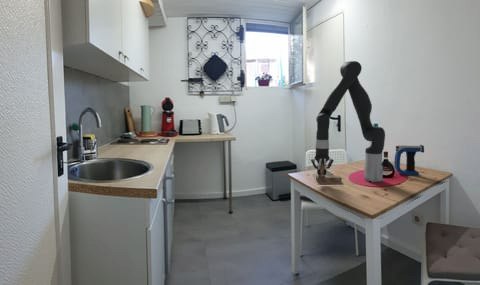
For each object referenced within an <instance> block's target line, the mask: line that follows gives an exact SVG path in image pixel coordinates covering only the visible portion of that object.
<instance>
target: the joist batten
mask: <svg viewBox="0 0 480 285" xmlns="http://www.w3.org/2000/svg"><path fill="white" fill-rule="evenodd" d="M342 180H343V178H342V176H341V175H337V174H336V175H334V174H333V175H325V176H324V175H323V177H320V176H319V175H316V180H315V182H317V183H320V184H321V183H322V184H324V183H327V184H328V183H331V184H332V183H335V184H338V183H339V184H340V183H342Z"/></svg>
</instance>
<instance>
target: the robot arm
mask: <svg viewBox="0 0 480 285" xmlns="http://www.w3.org/2000/svg"><path fill="white" fill-rule="evenodd" d="M339 71H340V75H341V77H342V78H341V79H340V82H339V83H338V84H337V85H336V87H335V88H334V89H333V90H332V91H331V93H330V94H329V95H328V97H327V98H326V101H325V102H324V104H323V107H322V108H321V109H320V111H319V113H318V114H317V116H316V123H317V124H316V128H317V130H316V133H315V134H316V137H315V138H316V139H315V156H314V158H311V159H310V161H311V163H312V165H313V167H314V169H317V170H316V174H318V175H319V176H320V166H321V164H324V174H323V175H324V176H325V175H326V171H328V169H330V168H331V166H332V164H333V163H334V159H333V158H331V157H330V156H329V154H330V140H329V139H330V137H329V134H330V133H329V130H330V121H331V120H330V118H331V116H332V115H333V113H334V112H335V111H336V109H337V108H338V106H339V104H340V103H341V101H342V99H343V98H344V96H345V94H346V93H347V91H348V94H349V97H350V99H351V102H352V105H353V107H354V111H355V113H356V115H357V118H358V121H359V124H360V129H361V132H362V133H361V134H362V136H363V139H364V140H366V141H367V142H371V144H370V146H368V147H366V148H365V154H364V175H363V176H364V178H363V180H364V179H365V180H364V181H366V182H369V181H371V183H380V182H383V174H384V165H383V151H384V147H385V140H386V132H385V129H384V128H383V127H381V126H373V124H372V120H371V114H372V109H373V108H372V106H373V105H372V102H371V99H370V96H369V94H368V92H367V91H366V90H365V87H364V86H363V85H362V84H361V82H360V80H359V78H358V77H359V76H360V74H361V72H362V64H361V63H360V62H359V61H355V60H353V61H351V60H349V61H345V62H343V63H342V64H341V65H340V69H339ZM315 162H316V163H317V165H316V163H315Z"/></svg>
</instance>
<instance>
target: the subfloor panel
mask: <svg viewBox="0 0 480 285" xmlns="http://www.w3.org/2000/svg"><path fill="white" fill-rule="evenodd" d="M316 175H318V174H317V173H311V176H312V177H313V178H314V180H315V181H316Z"/></svg>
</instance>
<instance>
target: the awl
mask: <svg viewBox="0 0 480 285" xmlns="http://www.w3.org/2000/svg"><path fill="white" fill-rule="evenodd" d="M323 174H324V164H321V166H320V177H323Z"/></svg>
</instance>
